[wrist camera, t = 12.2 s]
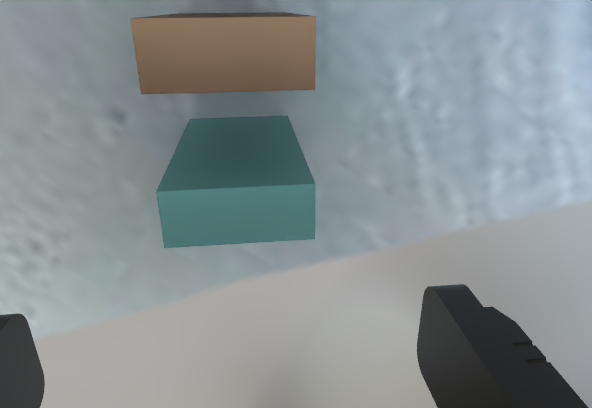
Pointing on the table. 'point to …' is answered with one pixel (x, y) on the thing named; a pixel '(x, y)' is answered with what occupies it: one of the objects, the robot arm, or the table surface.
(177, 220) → the tile
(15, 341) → the robot arm
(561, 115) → the table surface
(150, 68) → the tile
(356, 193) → the table surface
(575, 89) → the table surface
